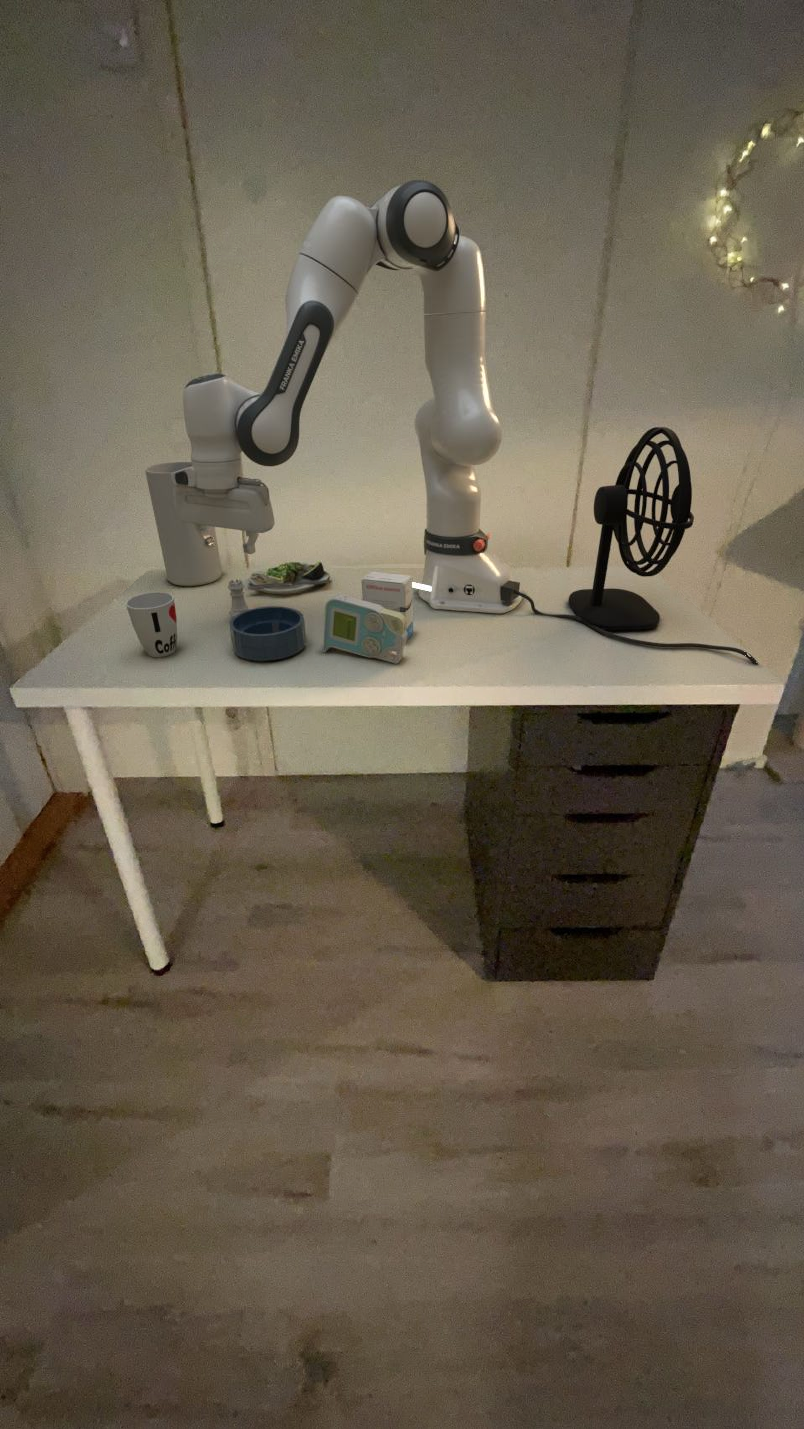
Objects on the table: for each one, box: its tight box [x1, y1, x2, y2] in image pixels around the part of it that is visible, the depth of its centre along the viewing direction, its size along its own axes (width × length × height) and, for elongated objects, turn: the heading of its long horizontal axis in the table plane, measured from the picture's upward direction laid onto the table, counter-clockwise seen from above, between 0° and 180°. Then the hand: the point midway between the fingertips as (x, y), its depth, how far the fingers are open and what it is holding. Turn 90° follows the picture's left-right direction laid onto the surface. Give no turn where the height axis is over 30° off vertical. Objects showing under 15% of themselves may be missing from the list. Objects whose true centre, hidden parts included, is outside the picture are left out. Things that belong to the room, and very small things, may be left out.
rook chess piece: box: [227, 579, 250, 621], centre depth 131 cm, size 4×4×8 cm
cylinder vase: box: [144, 461, 223, 587], centre depth 148 cm, size 12×12×25 cm
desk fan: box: [568, 426, 695, 631], centre depth 124 cm, size 27×18×35 cm, turn 3°
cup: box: [125, 591, 178, 658], centre depth 118 cm, size 8×8×10 cm
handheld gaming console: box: [322, 594, 408, 664], centre depth 116 cm, size 11×3×15 cm
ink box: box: [361, 571, 414, 641], centre depth 123 cm, size 8×5×12 cm, turn 71°
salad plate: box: [247, 561, 332, 595], centre depth 149 cm, size 19×18×5 cm
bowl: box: [228, 605, 307, 662], centre depth 120 cm, size 13×13×6 cm
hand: (229, 550), depth 126 cm, fingers open, 8 cm apart
